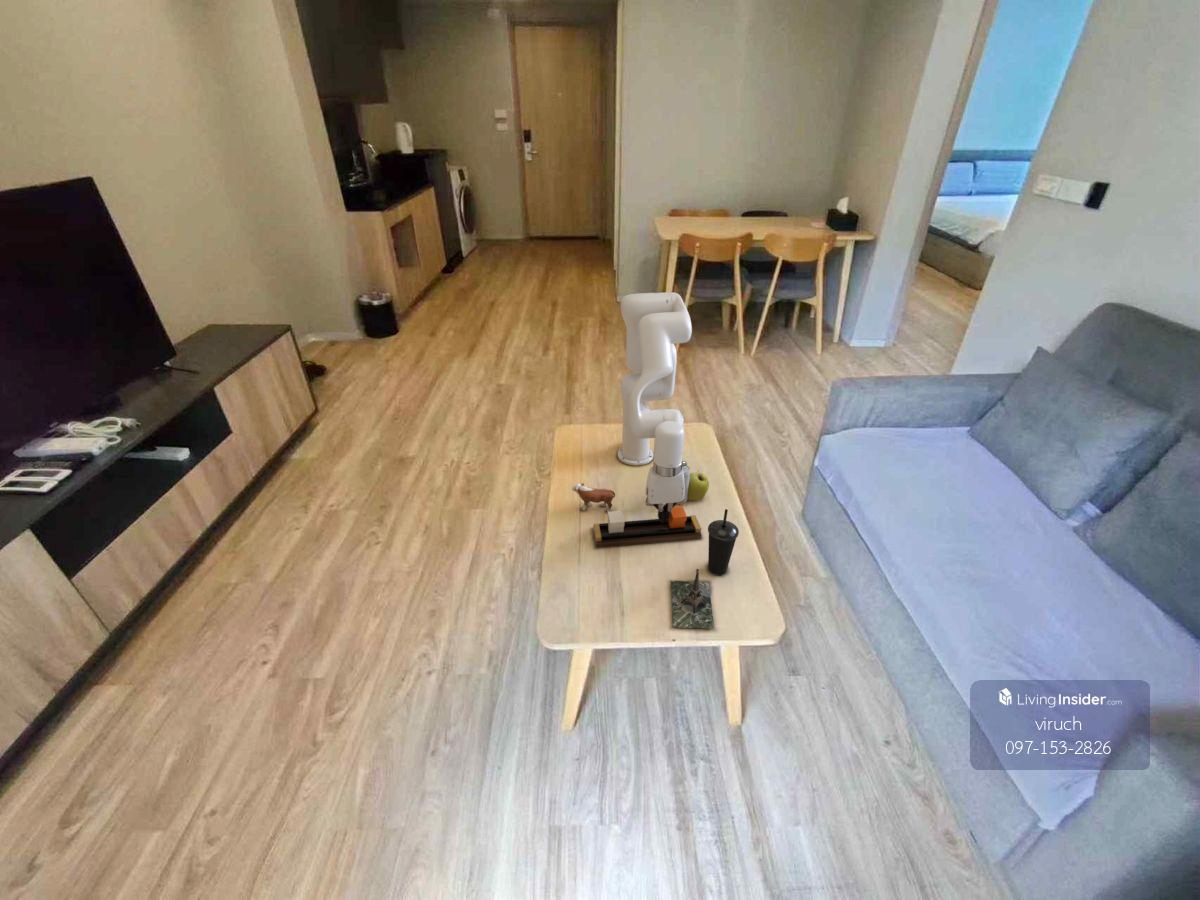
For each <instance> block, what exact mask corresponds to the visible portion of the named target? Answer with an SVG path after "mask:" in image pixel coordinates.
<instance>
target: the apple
mask: <svg viewBox="0 0 1200 900" xmlns="http://www.w3.org/2000/svg"><path fill="white" fill-rule="evenodd" d="M709 487H710V482H709V478H708V477H707V476H706V475H705V474H703V473H701V472H698V471H697V472H696V471H695V472H690V479H689V488H688V498H687V500H690V501H701V500H703V499H704V498H705V496H706V494H707V493H708V490H709Z"/></svg>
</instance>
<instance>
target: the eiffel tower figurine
mask: <svg viewBox="0 0 1200 900" xmlns="http://www.w3.org/2000/svg"><path fill="white" fill-rule="evenodd" d="M699 575H700V568H696V570H695V577H694V581H687V580H673V579H670V600H671V622H672V623H671V625H672V627H671V628H685V629H686V628H688V629H715V622H714V613H713V607H712V606H713V605H712V598H711V590H710V589H711V588H710V583H709V582H704V581H699V577H700V576H699Z"/></svg>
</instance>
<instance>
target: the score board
mask: <svg viewBox="0 0 1200 900" xmlns="http://www.w3.org/2000/svg"><path fill="white" fill-rule="evenodd" d="M592 526H593V529H592V530H593V535H594V536H593V537H594V540H595V541H594V542H595V547H596V548H597V549H600V548H610V547H611V548H613V547H625V546H636V545H645V544H646V545H647V544H648V545H649V544H657V543H668V542H669V543H670V542H680V541H692V540H701V539H702V533H684V534H672V535H661V536H649V537H637V538H626V539H614V540H602V541H596V538H595V532H594V525H592ZM685 527H693V525H692V523H691V522H686V523H685ZM658 529H670V527H669V524H662V525H650V526H638V527H626V528H624V532H634V531H646V530H658ZM600 533H601V534H609V531H608V529H603V530H600Z"/></svg>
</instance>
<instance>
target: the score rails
mask: <svg viewBox="0 0 1200 900" xmlns="http://www.w3.org/2000/svg"><path fill="white" fill-rule="evenodd" d="M686 516H687V520H686V521H685V523H686V522H691V523H692V525H693V527H681V528H670V529H658V530H646V531H634V532H623V533H611V534H601V533H600V530H603V529H608V522H603V523H598V522H597V523H593V526H594V530H593V533H594V532H595V536H594V539H595V538H596V541H602V540H614V539H626V538H637V537H649V536H661V535H672V534H684V533H701V532H702V527H701V525H700V523H699V520H698V518H697V516H696V515H694V514H693V515H686ZM662 524H669V518H668V520H667V523H665V522H664V523H661V520H660V519H659V518H651V519H641V520H640V519H639V520H630V521H629V520H627V521H624V528H626V527H638V526H650V525H662ZM701 534H702V533H701Z"/></svg>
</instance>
